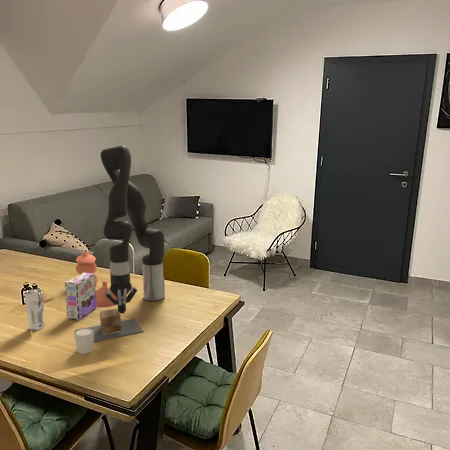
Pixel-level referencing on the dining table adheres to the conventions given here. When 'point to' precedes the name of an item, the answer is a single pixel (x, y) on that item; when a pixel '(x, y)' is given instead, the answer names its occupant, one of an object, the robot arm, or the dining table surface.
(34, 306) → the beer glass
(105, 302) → the ceramic vessels
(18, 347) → the dining table surface
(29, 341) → the dining table surface
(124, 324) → the placemat
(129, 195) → the robot arm
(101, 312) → the walnut cube
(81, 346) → the shot glass
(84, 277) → the candy box
